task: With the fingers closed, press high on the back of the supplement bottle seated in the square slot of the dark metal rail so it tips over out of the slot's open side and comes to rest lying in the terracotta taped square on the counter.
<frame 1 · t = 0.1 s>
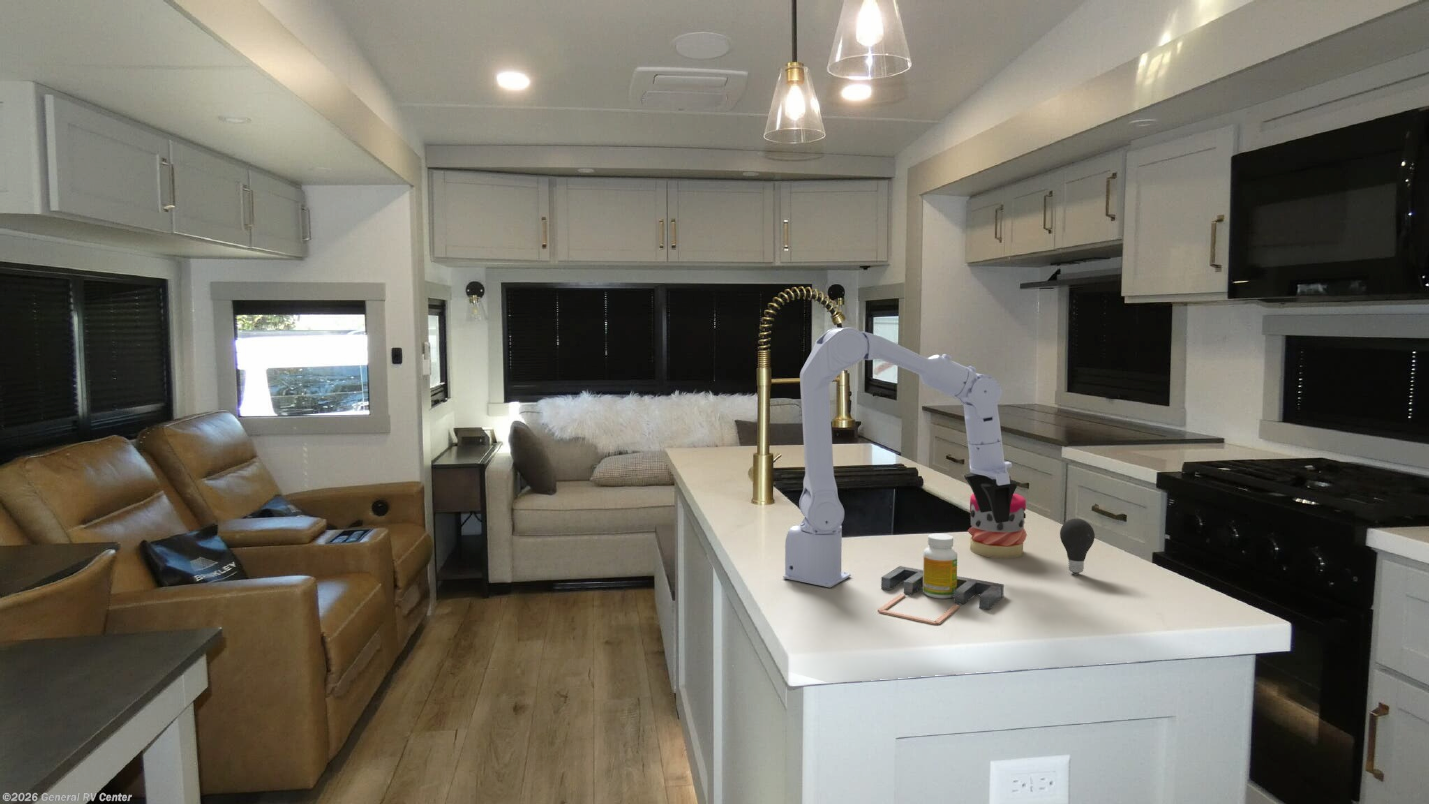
hand: (994, 516, 143), 10 cm above the countertop, fingers open, 7 cm apart
light bulb: (1075, 575, 144), on the countertop
rail: (939, 593, 134), on the countertop
cake: (996, 552, 159), on the countertop
supplement bottle: (939, 595, 134), on the countertop
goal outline: (918, 609, 127), on the countertop
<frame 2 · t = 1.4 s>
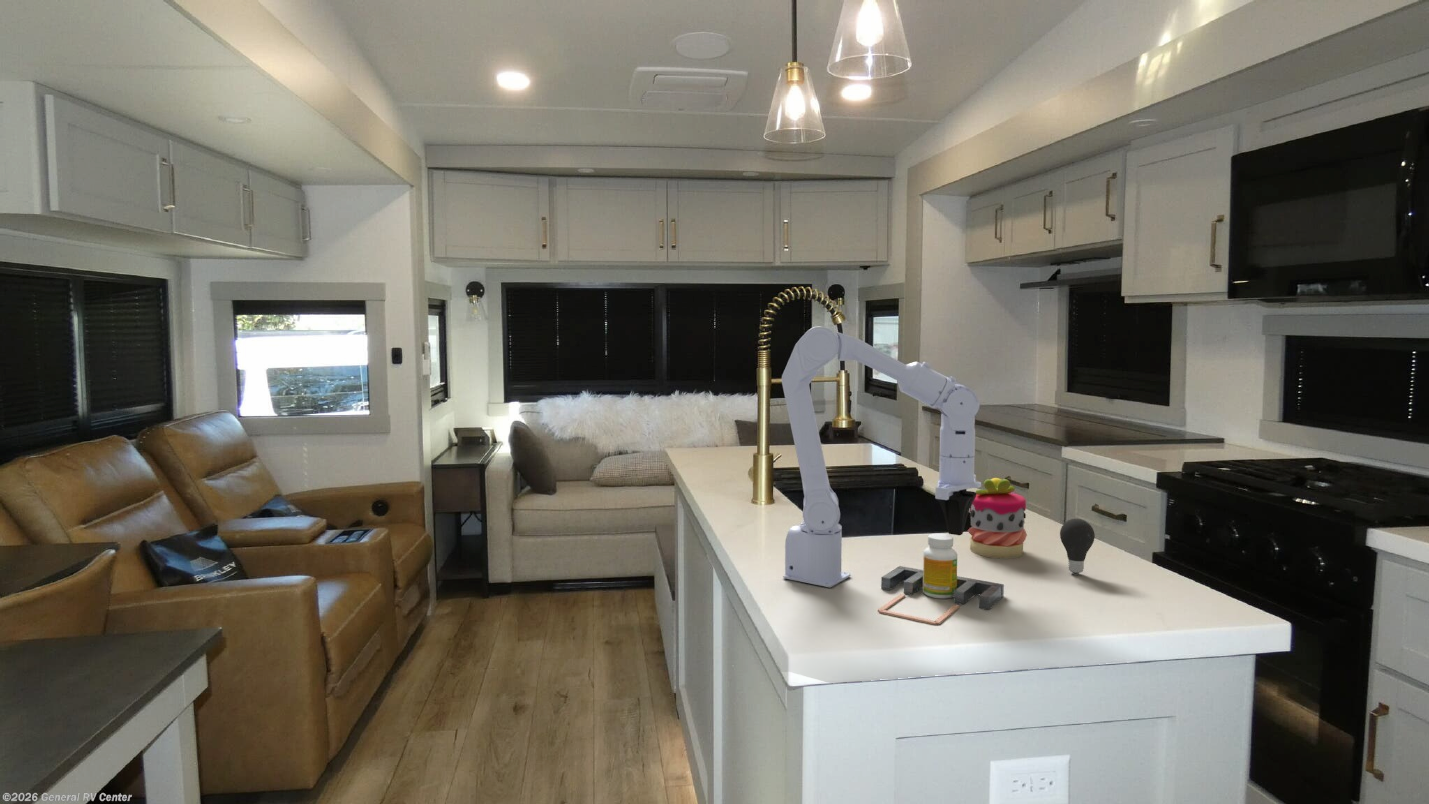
hand: (955, 533, 139), 9 cm above the countertop, fingers closed
nothing on the countertop moved.
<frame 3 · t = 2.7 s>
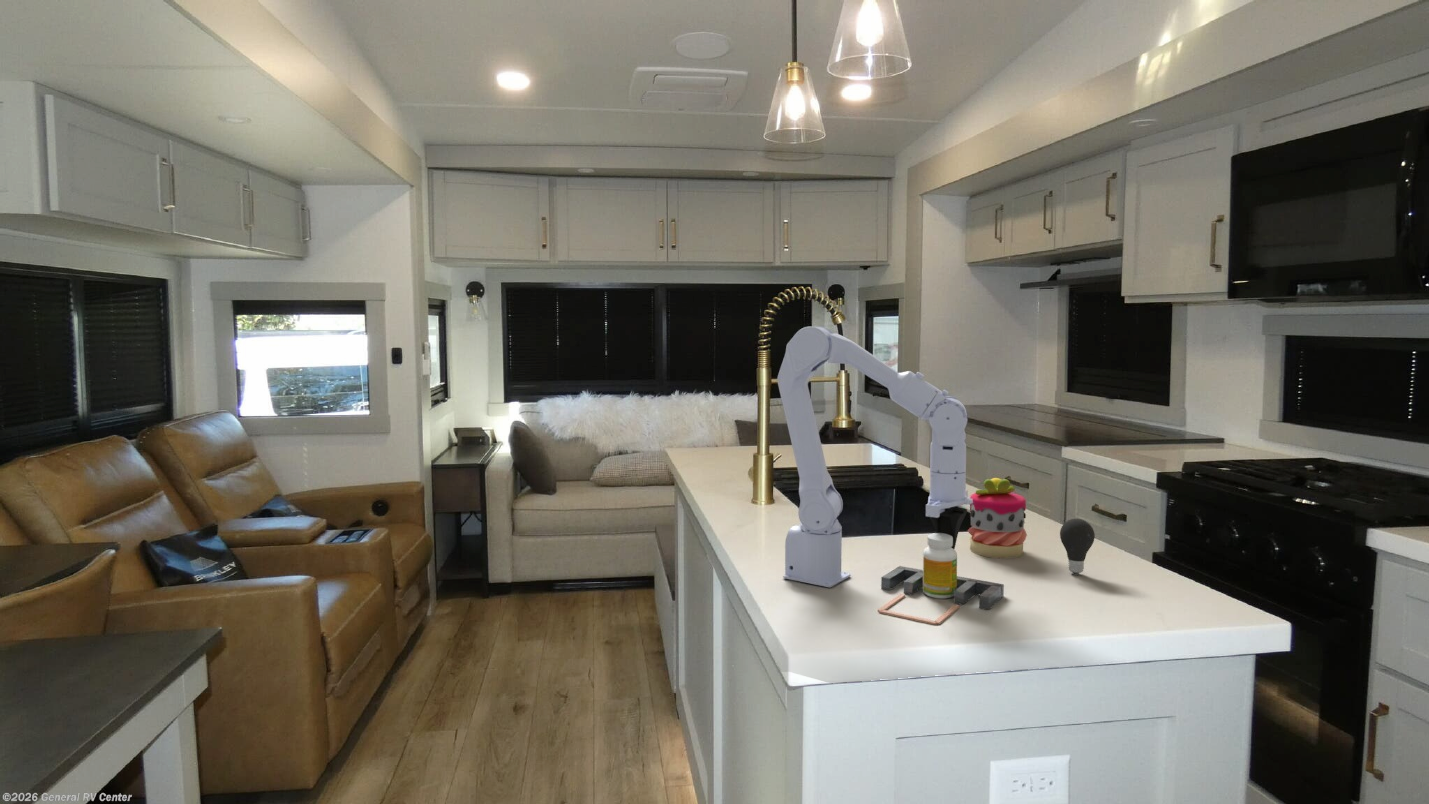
hand: (946, 551, 135), 7 cm above the countertop, fingers closed, pressing on supplement bottle
supplement bottle: (939, 594, 134), on the countertop, touching gripper
everything else where it was.
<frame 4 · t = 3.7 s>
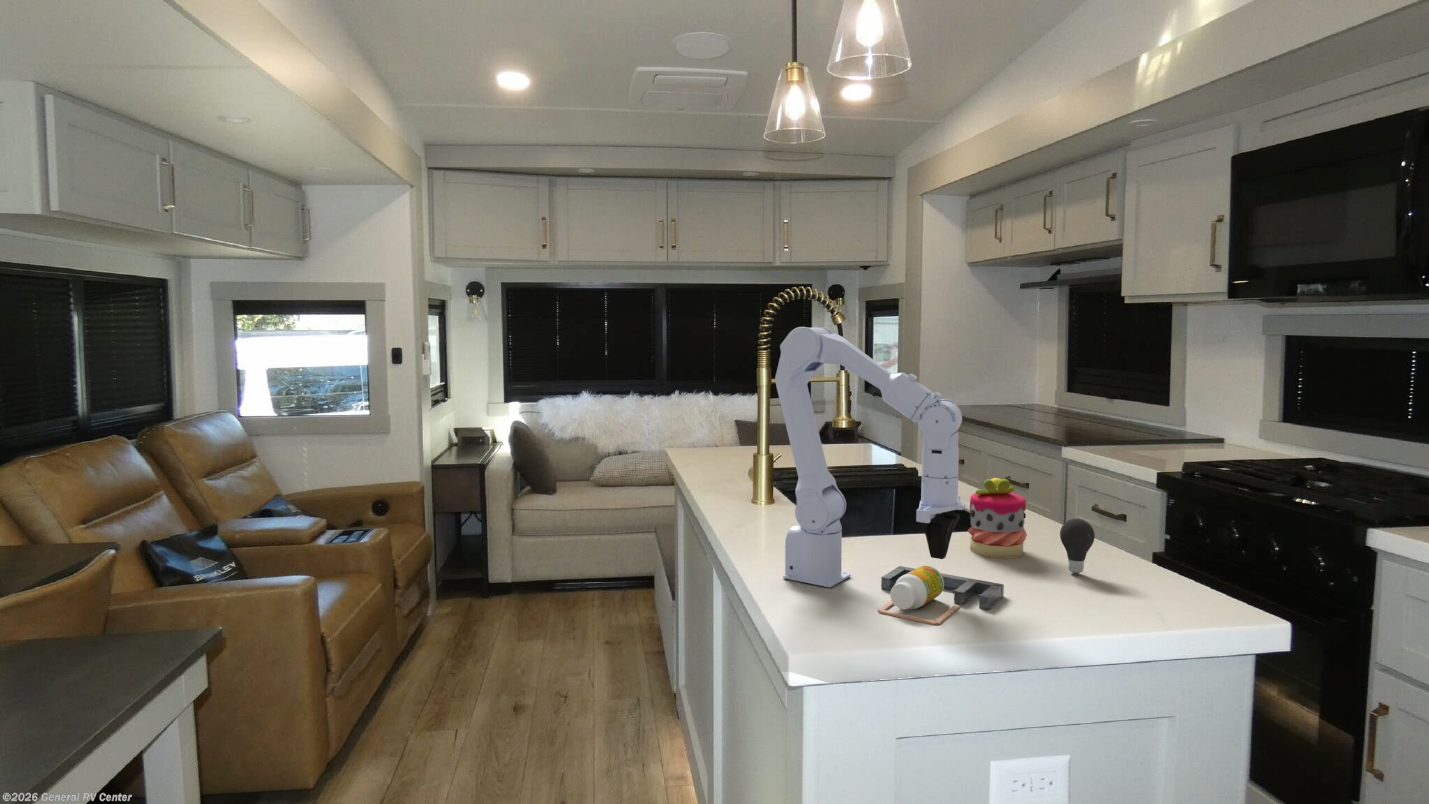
hand: (938, 557, 132), 6 cm above the countertop, fingers closed
supplement bottle: (929, 580, 132), point 3 cm above the countertop
everything else where it was.
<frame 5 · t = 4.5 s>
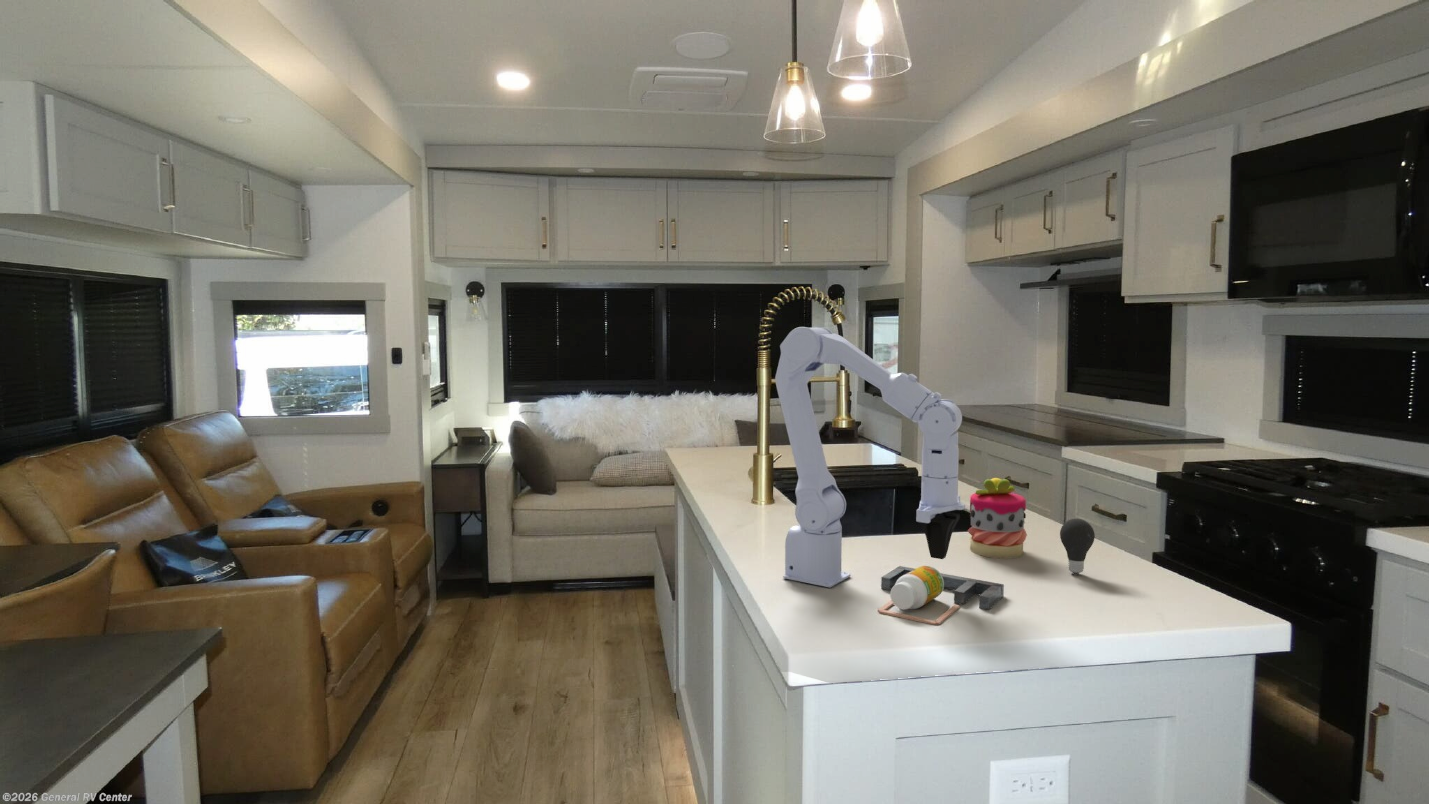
hand: (938, 557, 132), 6 cm above the countertop, fingers closed
nothing on the countertop moved.
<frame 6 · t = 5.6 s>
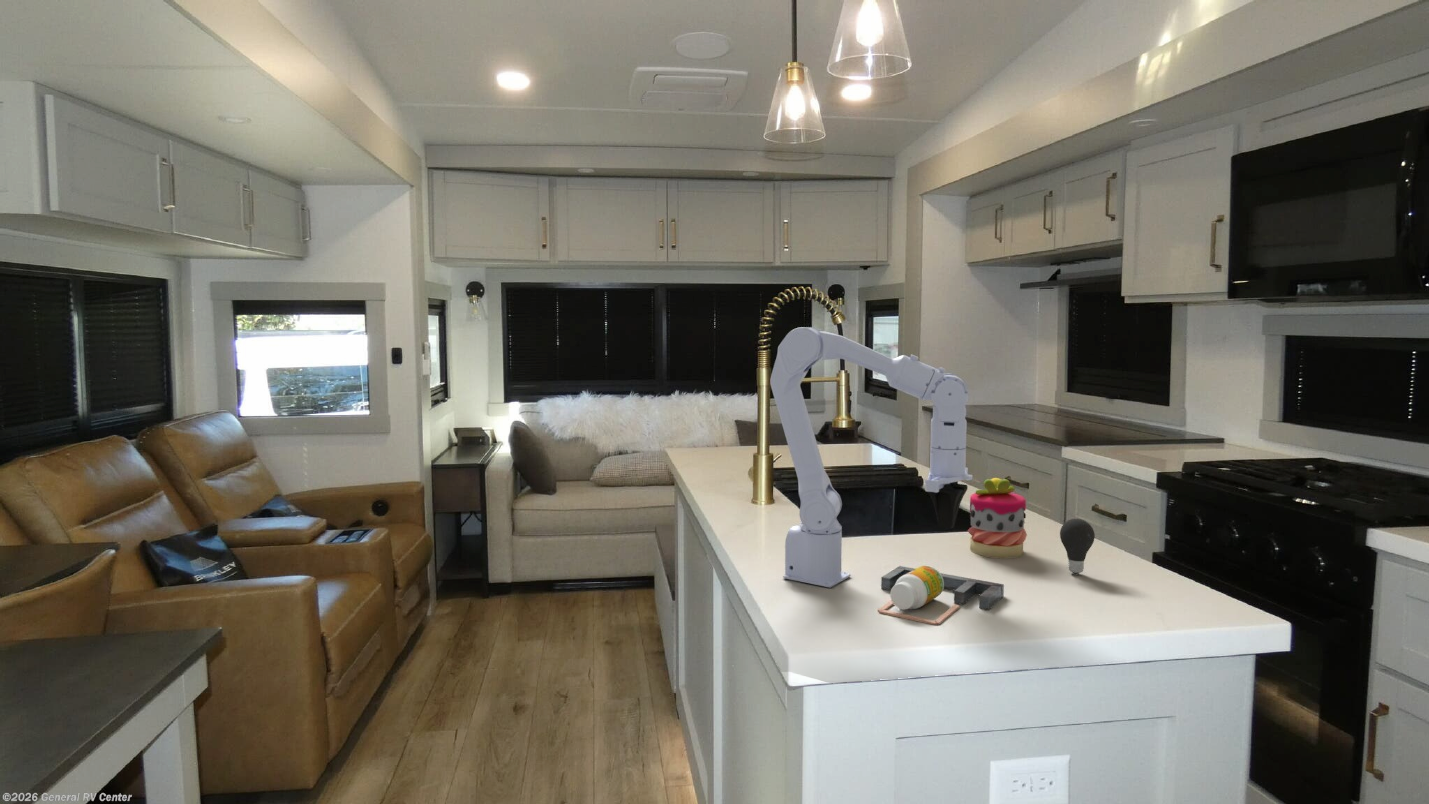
hand: (946, 527, 136), 10 cm above the countertop, fingers closed
nothing on the countertop moved.
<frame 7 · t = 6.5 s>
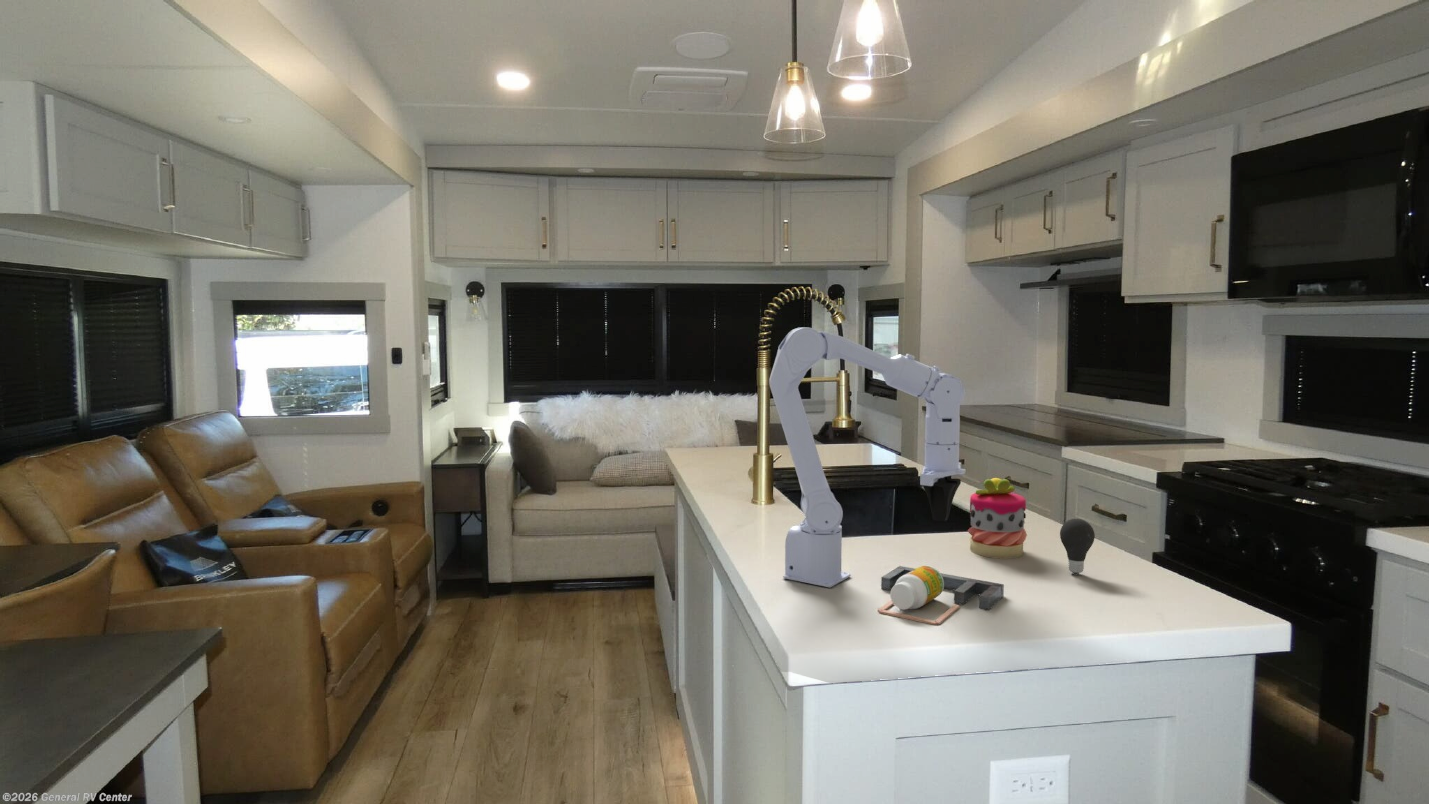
hand: (940, 520, 141), 10 cm above the countertop, fingers closed
nothing on the countertop moved.
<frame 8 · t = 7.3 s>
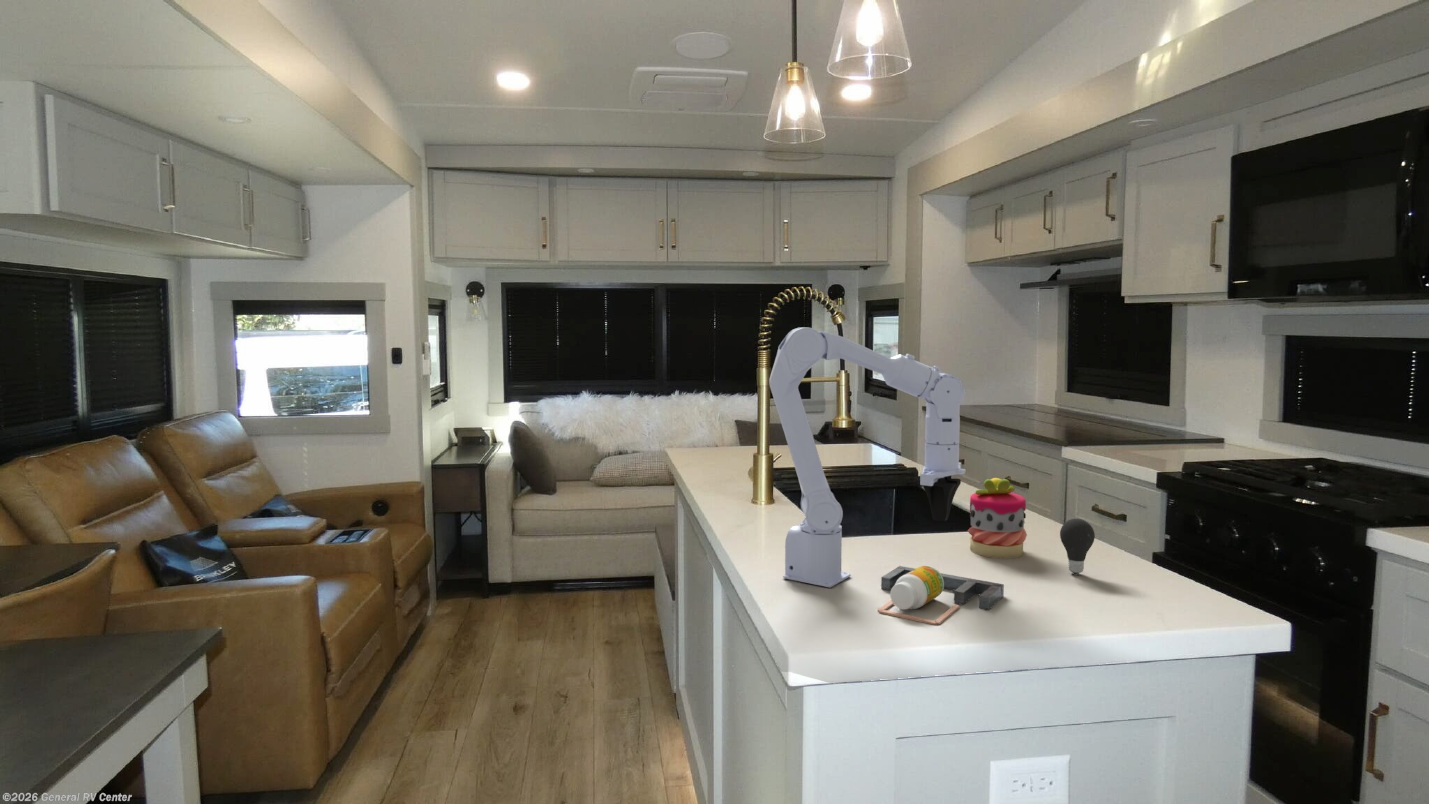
hand: (940, 520, 141), 10 cm above the countertop, fingers closed
nothing on the countertop moved.
at the end: supplement bottle tilted 90°; supplement bottle inside the target area (5.2 cm from its centre), point 2.7 cm above the countertop; the gripper is holding nothing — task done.
